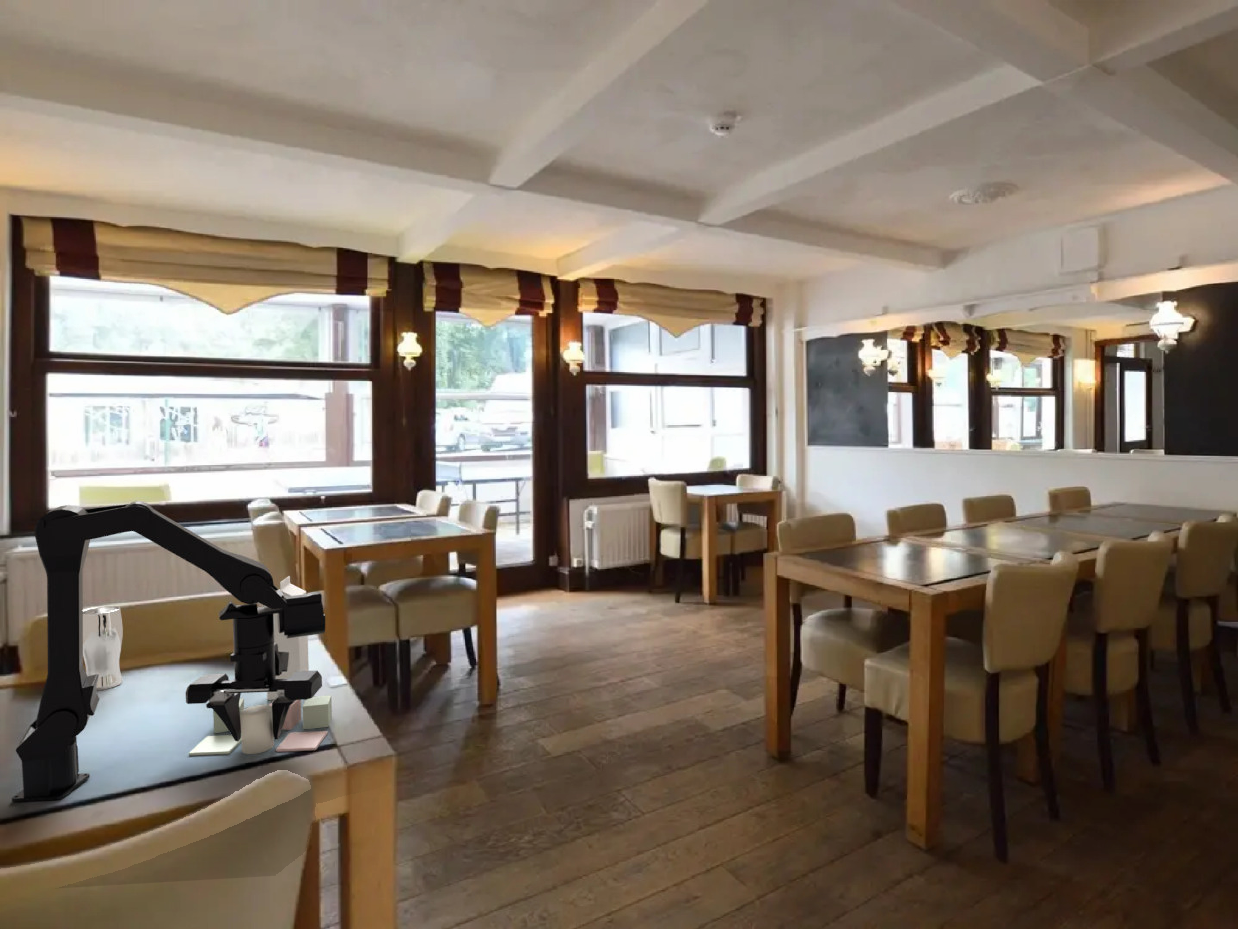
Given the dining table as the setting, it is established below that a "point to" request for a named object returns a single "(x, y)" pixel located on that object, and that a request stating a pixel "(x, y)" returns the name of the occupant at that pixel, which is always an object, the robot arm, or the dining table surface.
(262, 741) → the cream rounded cylinder
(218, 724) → the sage cube
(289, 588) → the milk
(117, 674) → the beer glass
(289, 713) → the cube rose
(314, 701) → the sage cube
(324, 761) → the dining table surface
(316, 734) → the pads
